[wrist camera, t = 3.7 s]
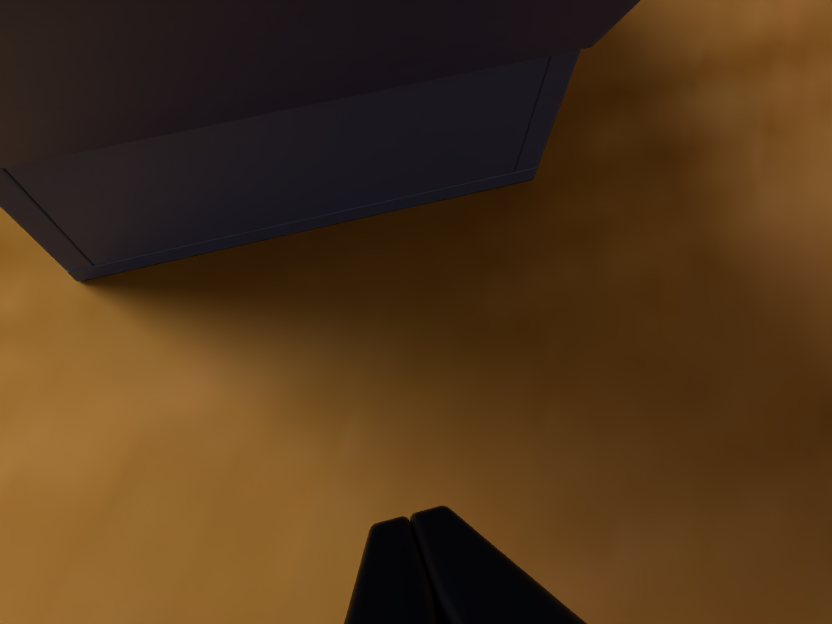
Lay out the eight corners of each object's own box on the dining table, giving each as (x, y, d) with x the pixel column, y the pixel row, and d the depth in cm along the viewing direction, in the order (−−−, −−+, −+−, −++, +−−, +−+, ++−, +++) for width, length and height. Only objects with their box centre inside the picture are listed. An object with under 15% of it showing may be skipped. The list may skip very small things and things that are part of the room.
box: (38, 4, 27) (-72, -178, 20) (445, -70, 29) (462, -259, 22) (76, 282, 24) (-39, 170, 17) (533, 179, 25) (583, 43, 19)
